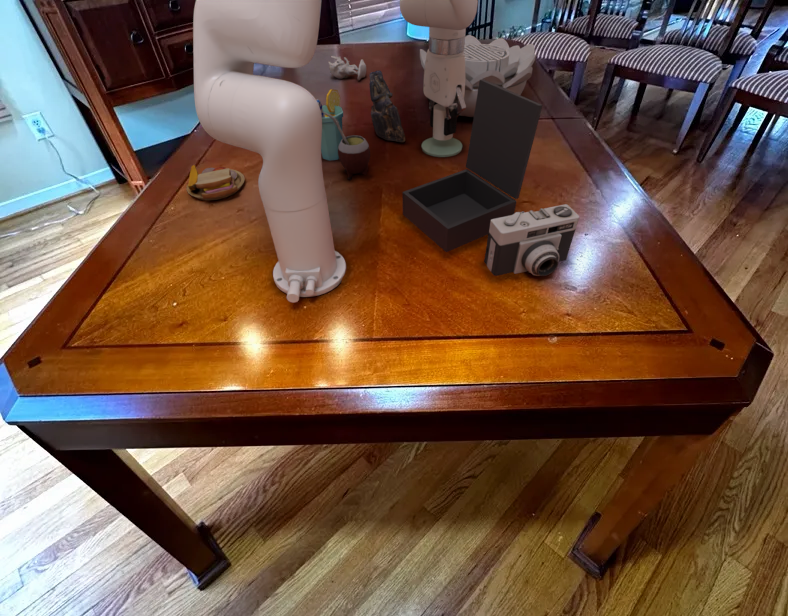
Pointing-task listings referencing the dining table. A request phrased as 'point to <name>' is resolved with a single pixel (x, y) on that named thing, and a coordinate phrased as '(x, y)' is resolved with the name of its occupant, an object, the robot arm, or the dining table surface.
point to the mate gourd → (352, 152)
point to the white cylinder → (440, 122)
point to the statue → (384, 110)
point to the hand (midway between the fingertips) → (442, 129)
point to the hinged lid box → (456, 208)
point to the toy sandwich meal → (214, 183)
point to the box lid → (502, 136)
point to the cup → (331, 125)
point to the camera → (530, 241)
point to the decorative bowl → (493, 67)
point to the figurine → (346, 68)
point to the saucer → (441, 147)
